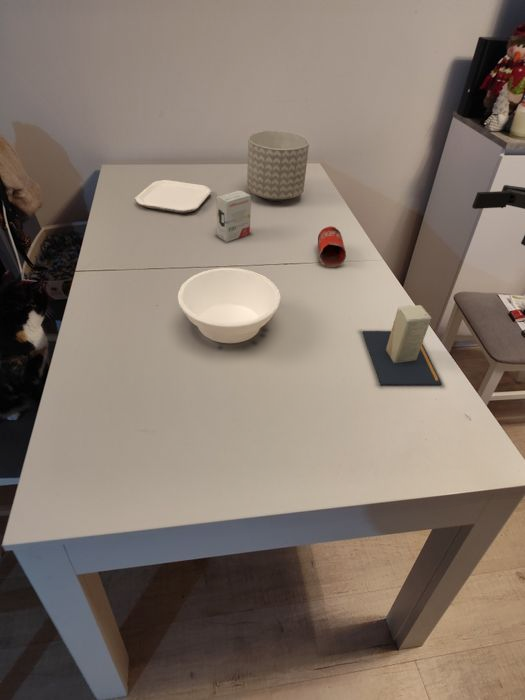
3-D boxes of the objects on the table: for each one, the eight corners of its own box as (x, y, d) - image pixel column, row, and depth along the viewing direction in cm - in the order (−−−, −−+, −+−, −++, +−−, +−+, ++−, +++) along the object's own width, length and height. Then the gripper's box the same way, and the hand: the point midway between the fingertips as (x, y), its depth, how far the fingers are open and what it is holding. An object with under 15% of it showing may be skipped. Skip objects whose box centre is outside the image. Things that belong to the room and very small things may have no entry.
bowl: (226, 373, 85) (226, 340, 80) (160, 323, 96) (156, 291, 90) (297, 327, 97) (301, 296, 92) (231, 287, 108) (232, 257, 102)
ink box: (240, 228, 131) (241, 188, 124) (250, 234, 129) (252, 194, 121) (216, 235, 127) (215, 195, 119) (226, 242, 124) (226, 201, 117)
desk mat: (441, 385, 86) (442, 383, 86) (380, 385, 85) (381, 383, 85) (415, 333, 98) (416, 331, 98) (362, 332, 97) (362, 330, 97)
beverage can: (339, 246, 126) (343, 224, 122) (344, 268, 117) (348, 245, 113) (314, 245, 126) (317, 223, 122) (316, 266, 117) (320, 244, 113)
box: (407, 347, 93) (422, 304, 86) (416, 361, 90) (433, 317, 83) (384, 349, 92) (397, 306, 85) (393, 363, 89) (407, 320, 82)
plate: (193, 218, 135) (193, 211, 133) (130, 208, 137) (129, 201, 136) (215, 193, 150) (214, 186, 148) (157, 184, 153) (157, 178, 151)
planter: (257, 210, 141) (259, 150, 129) (239, 187, 155) (240, 131, 143) (311, 205, 147) (319, 147, 135) (290, 183, 160) (295, 129, 148)
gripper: (651, 266, 71) (539, 276, 67) (545, 202, 90) (451, 207, 85) (682, 223, 66) (564, 230, 62) (563, 164, 85) (465, 167, 80)
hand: (499, 217), depth 74 cm, fingers open, 13 cm apart
